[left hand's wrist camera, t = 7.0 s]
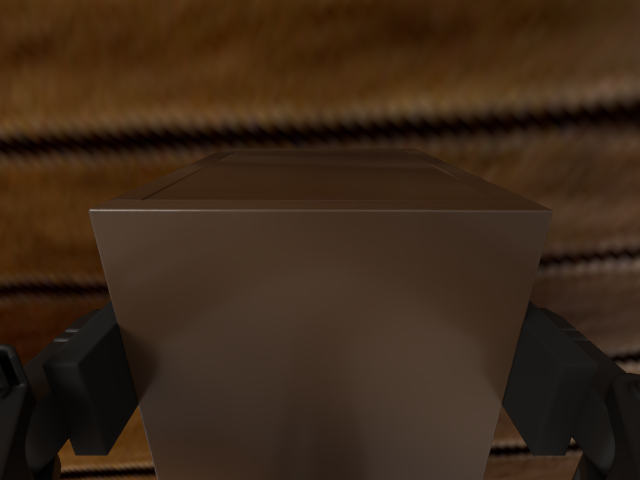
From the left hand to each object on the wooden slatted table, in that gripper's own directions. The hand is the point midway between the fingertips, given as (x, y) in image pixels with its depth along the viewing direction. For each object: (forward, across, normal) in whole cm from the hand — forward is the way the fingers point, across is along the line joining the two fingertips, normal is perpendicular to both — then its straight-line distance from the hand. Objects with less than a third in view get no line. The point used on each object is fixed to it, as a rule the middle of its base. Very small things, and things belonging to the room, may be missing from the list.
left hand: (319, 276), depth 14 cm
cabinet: (+6, 0, -4) cm, 8 cm away
